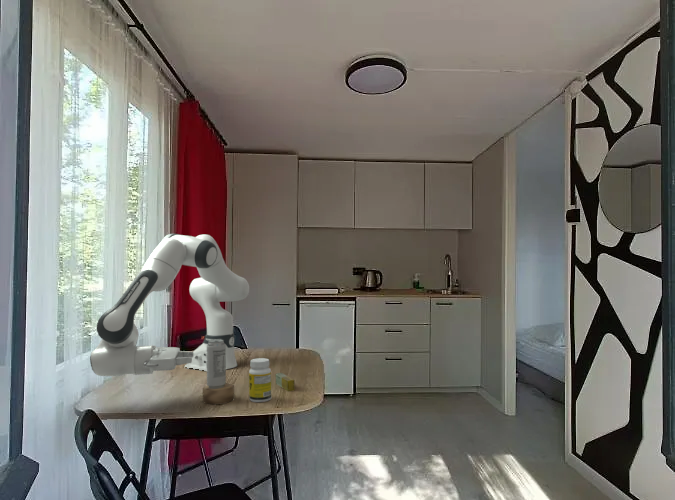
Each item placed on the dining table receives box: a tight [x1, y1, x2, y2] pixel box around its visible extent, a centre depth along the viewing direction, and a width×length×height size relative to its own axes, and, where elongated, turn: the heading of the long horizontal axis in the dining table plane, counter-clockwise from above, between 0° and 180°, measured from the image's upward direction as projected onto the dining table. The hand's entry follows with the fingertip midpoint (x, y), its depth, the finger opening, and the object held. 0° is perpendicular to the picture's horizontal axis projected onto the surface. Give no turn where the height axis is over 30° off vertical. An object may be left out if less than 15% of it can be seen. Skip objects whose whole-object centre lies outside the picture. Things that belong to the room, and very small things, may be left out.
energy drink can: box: [206, 340, 227, 389], centre depth 155 cm, size 6×6×15 cm
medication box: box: [275, 372, 295, 392], centre depth 169 cm, size 12×3×4 cm, turn 28°
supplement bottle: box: [248, 357, 273, 403], centre depth 154 cm, size 7×7×13 cm
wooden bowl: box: [202, 382, 235, 405], centre depth 155 cm, size 10×10×4 cm
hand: (192, 357), depth 153 cm, fingers open, 8 cm apart
